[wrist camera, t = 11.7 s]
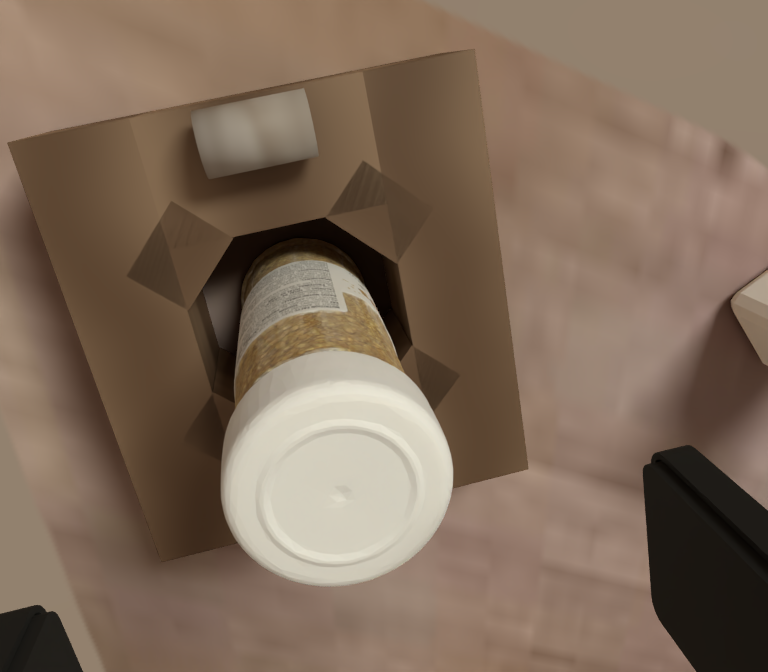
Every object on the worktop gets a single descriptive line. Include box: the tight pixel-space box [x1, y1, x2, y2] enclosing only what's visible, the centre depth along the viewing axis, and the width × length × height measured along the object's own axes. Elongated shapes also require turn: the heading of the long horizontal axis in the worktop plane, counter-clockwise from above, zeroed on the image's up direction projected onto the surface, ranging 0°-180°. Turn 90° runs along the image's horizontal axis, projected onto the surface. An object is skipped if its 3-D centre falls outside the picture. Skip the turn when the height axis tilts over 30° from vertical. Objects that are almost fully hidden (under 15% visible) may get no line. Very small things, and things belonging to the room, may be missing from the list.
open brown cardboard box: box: [7, 49, 528, 562], centre depth 23 cm, size 13×14×6 cm
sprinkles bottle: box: [221, 238, 453, 587], centre depth 20 cm, size 5×5×14 cm
